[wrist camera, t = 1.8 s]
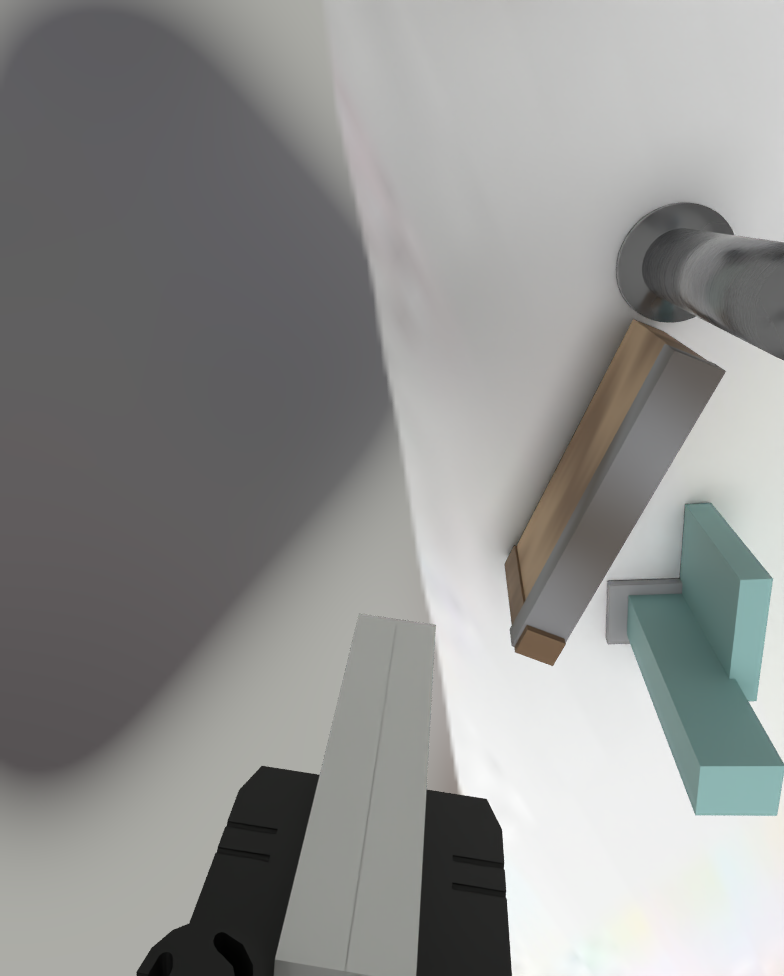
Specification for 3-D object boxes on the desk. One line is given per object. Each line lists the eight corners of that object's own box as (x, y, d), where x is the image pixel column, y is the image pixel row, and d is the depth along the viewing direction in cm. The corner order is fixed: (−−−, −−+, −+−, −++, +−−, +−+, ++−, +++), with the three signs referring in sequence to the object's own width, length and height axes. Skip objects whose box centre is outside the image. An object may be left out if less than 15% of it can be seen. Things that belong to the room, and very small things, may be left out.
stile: (609, 507, 28) (681, 657, 19) (710, 502, 28) (834, 654, 19) (606, 638, 31) (667, 826, 22) (698, 636, 30) (802, 827, 21)
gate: (628, 316, 25) (677, 352, 19) (668, 333, 25) (729, 373, 19) (502, 563, 29) (512, 651, 23) (537, 576, 29) (555, 667, 23)
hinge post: (617, 209, 24) (724, 218, 14) (738, 197, 23) (933, 197, 14) (614, 324, 25) (709, 403, 16) (727, 315, 25) (896, 391, 15)
